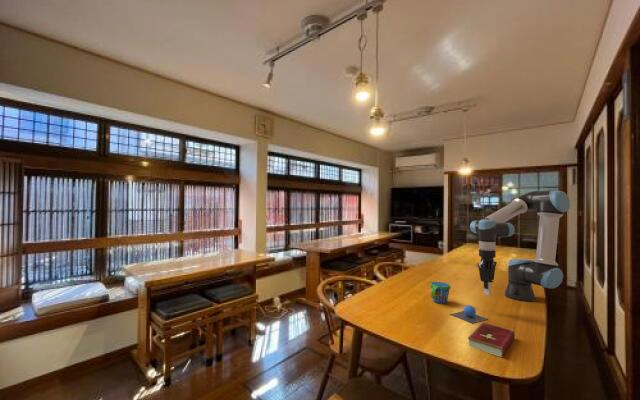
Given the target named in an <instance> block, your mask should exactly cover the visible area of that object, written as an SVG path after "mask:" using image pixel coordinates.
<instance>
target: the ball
mask: <svg viewBox="0 0 640 400" xmlns="http://www.w3.org/2000/svg"><path fill="white" fill-rule="evenodd" d="M463 311H464V313H465V315H466V316H468V317H473V316H475V314H476V315H477V311H476V309H475V307H474V306H472V305H470V304H469V305H468V304H467V305H465V306H464V307H463Z"/></svg>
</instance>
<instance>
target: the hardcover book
mask: <svg viewBox="0 0 640 400" xmlns="http://www.w3.org/2000/svg"><path fill="white" fill-rule="evenodd" d="M515 335H516V334H515V331H514V330H513V329H509V328H505V327H502V326H499V325H495V324H491V323H488V322H484V321H481V323H480V324H479V325H478V326H477V328H476V329H474V330H473V332H472V333H470V335H468V337H467V339H468V346H469V347H470V348H474V349H476V350H479V351H482V352H485V353H488V354H491V355H494V356H497V357H500V358H502V359H503V358H504V356H505V355H506V353H507V351H508V349H509V348H510V346H511V345H512V343H513V341H514V340H515Z"/></svg>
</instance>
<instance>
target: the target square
mask: <svg viewBox="0 0 640 400" xmlns="http://www.w3.org/2000/svg"><path fill="white" fill-rule="evenodd" d="M449 315H450V316H452V317H455V318H458V319H460V320H462V321H464V322H467V323H468V324H469V323H470V324H472V325H473V324H476V323H477V324H478V323H480V322H481V323H482V322H484V321H487V320H489V318H487V317H484V316H481V315H479V314H477V313H476V314H475V316H473V317H468V316H466V315H465V313H464V310H462V311H457V312H454V313H451V314H449Z"/></svg>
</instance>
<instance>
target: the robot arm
mask: <svg viewBox="0 0 640 400" xmlns="http://www.w3.org/2000/svg"><path fill="white" fill-rule="evenodd" d="M570 207H571V201H570V197H569V196H568V194H567V193H566V192H565V191H562V190H536V191H529V192H527V193H524V194H522V195H519V196H518V197H515V198H514V199H512V201H511V203H509V204H507V205H505V206H503V207H502V208H500V209H498V210H497V211H495V212H492V213H491V214H489V215H487V216H486V217H484V218H482V219H480V220H479V219H478V220H472V221H471V222H470V225H469V229H470V231H471V232H472V233H474V234H477V235H478V248H479V249H478V256H479V257H480V263H477V264H476V265H477V268H478V271H479V278H480V282H483V294H484V295H487V296H491V295H492V294H491V293H492V286H491V285H492V283H494V280H495V274H496V266H497V261H495V260H494V258H496V256H497V255H496V245H497V244H496V238H508V237H512V236H513V235H514V234H515V232H516V231H515V227H514V225H513V224H512V223H510V222H507V221H510V220H512V219H513V218H514V217H517V216H518V215H520V214H525V213H527V212H533V211H534V212H536V214H537V216H538V217H539V223H538V232H537V233H538V234H537V241H536V242H537V243H536V254H535V258H534V259H529V258H527V259H526V258H512V259H509V261H508V265H507V269H508V270H507V273H508V275H507V276H508V277H507V279H508V280H507V285H506V288H505V290H504V296H505V297H507V298H509V299H512V300H515V299H516V300H517V301H520V302H521V301H522V302H533V301H532V300H535V301H536V295H535V293H534V289H533V286H532V285H536V286H538V287H542V288H546V289H550V290H551V289H556V288H558V287H559V286H560V285H561V284H562V283H563V279H564V272H563V271H562V270H561V269H560V268H559V264H558V263H557V261H556V256H557V255H556V254H557V246H558V236H559V235H558V234H559V226H560V225H559V224H560V218H562V217H563V216H564V213H565V212H568V211H569V209H570Z"/></svg>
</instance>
